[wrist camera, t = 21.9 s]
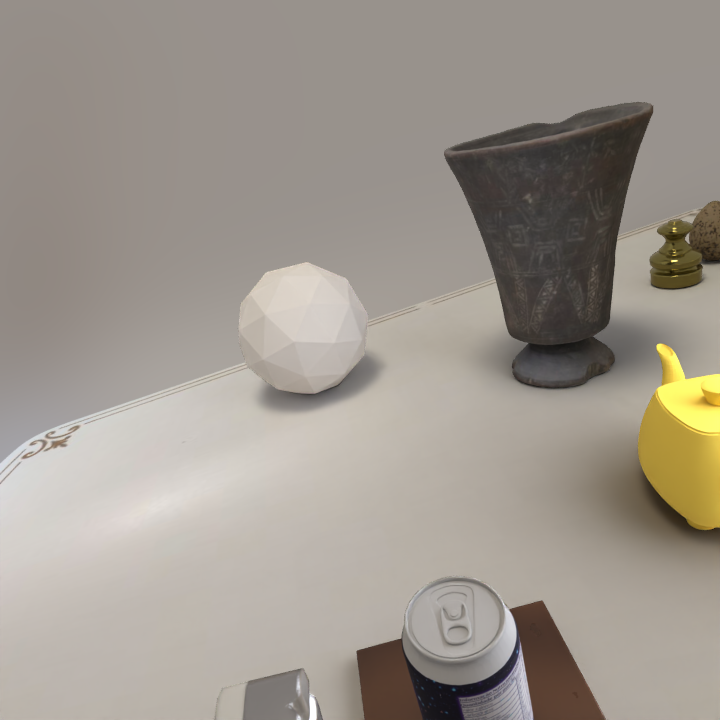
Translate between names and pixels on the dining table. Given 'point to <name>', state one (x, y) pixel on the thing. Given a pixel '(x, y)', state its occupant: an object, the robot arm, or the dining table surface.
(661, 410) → the teapot
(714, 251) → the decorative egg
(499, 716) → the beverage can
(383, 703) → the walnut board
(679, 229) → the gold tiered tapered piece
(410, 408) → the dining table surface
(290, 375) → the ball
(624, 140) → the vase
